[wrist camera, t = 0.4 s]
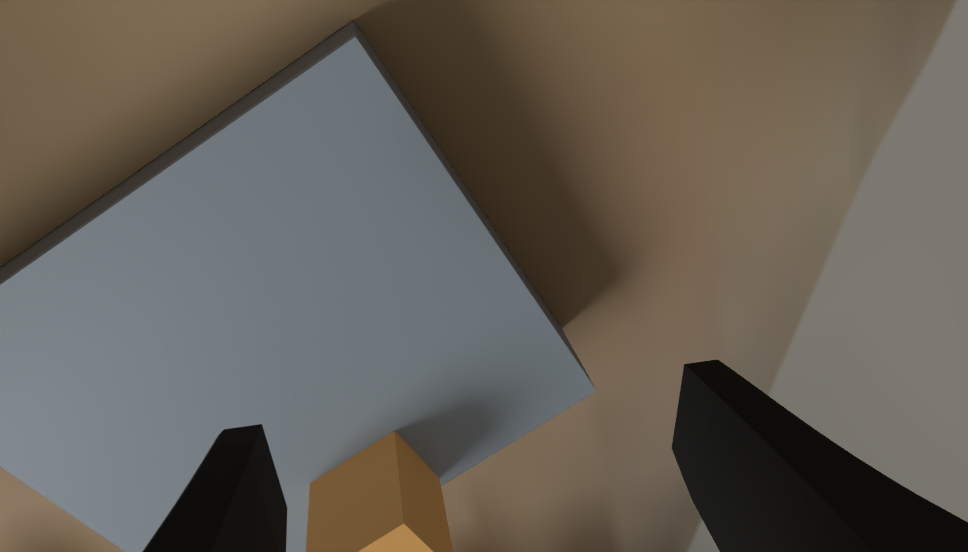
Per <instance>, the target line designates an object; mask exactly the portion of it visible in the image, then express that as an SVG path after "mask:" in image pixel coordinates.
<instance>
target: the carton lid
mask: <svg viewBox="0 0 968 552" xmlns="http://www.w3.org/2000/svg"><path fill="white" fill-rule="evenodd" d="M595 391H597V390H596V388H595V387H594V385H593V383H592V381H591V380H590V378H589V377H588V375H587V374H586V372H585V371H584V370H583V368H582V367H581V365H580V364H579V362H578V361H577V359H576V358H575V356H574V355H573V353H572V352H571V350H570V349H569V348H568V346H567V345H566V343H565V342H564V340H563V339H562V337H561V336H560V334H559V333H558V331H557V330H556V328H555V327H554V326H553V324H552V323H551V321H550V320H549V318H548V317H547V315H546V314H545V312H544V311H543V309H542V308H541V306H540V305H539V303H538V302H537V301H536V299H535V298H534V296H533V295H532V293H531V292H530V290H529V289H528V287H527V286H526V284H525V283H524V281H523V280H522V279H521V277H520V276H519V274H518V273H517V271H516V270H515V268H514V267H513V265H512V264H511V262H510V261H509V259H508V258H507V256H506V255H505V254H504V252H503V251H502V249H501V248H500V246H499V245H498V243H497V242H496V240H495V239H494V237H493V236H492V234H491V233H490V232H489V230H488V229H487V227H486V226H485V224H484V223H483V221H482V220H481V218H480V217H479V215H478V214H477V212H476V211H475V209H474V208H473V207H472V205H471V204H470V202H469V201H468V199H467V198H466V196H465V195H464V193H463V192H462V190H461V189H460V187H459V186H458V185H457V183H456V182H455V180H454V179H453V177H452V176H451V174H450V173H449V171H448V170H447V168H446V167H445V165H444V164H443V162H442V161H441V160H440V158H439V157H438V155H437V154H436V152H435V151H434V149H433V148H432V146H431V145H430V143H429V142H428V140H427V139H426V138H425V136H424V135H423V133H422V132H421V130H420V129H419V127H418V126H417V124H416V123H415V121H414V120H413V118H412V117H411V116H410V114H409V113H408V111H407V110H406V108H405V107H404V105H403V104H402V102H401V101H400V99H399V98H398V96H397V95H396V93H395V92H394V91H393V89H392V88H391V86H390V85H389V83H388V82H387V80H386V79H385V77H384V76H383V74H382V73H381V71H380V70H379V69H378V67H377V66H376V64H375V63H374V61H373V60H372V58H371V57H370V55H369V54H368V52H367V51H366V49H365V48H364V46H363V45H362V44H361V42H360V41H359V39H358V38H357V36H356V35H355V34H354V35H353V36H351V37H350V38H348V39H347V40H346V41H344V42H343V43H341V44H340V45H338V46H337V47H336V48H334V49H333V50H331V51H330V52H328V53H327V54H326V55H324V56H323V57H321V58H320V59H318V60H317V61H316V62H314V63H313V64H311V65H310V66H308V67H307V68H305V69H304V70H303V71H301V72H300V73H298V74H297V75H295V76H294V77H293V78H291V79H290V80H288V81H287V82H285V83H284V84H283V85H281V86H280V87H278V88H277V89H275V90H274V91H273V92H271V93H270V94H268V95H267V96H265V97H264V98H263V99H261V100H260V101H258V102H257V103H255V104H254V105H253V106H251V107H250V108H248V109H247V110H245V111H244V112H243V113H241V114H240V115H238V116H237V117H235V118H234V119H233V120H231V121H230V122H228V123H227V124H225V125H224V126H223V127H221V128H220V129H218V130H217V131H215V132H214V133H213V134H211V135H210V136H208V137H207V138H205V139H204V140H203V141H201V142H200V143H198V144H197V145H195V146H194V147H193V148H191V149H190V150H188V151H187V152H185V153H184V154H183V155H181V156H180V157H178V158H177V159H175V160H174V161H173V162H171V163H170V164H168V165H167V166H165V167H164V168H163V169H161V170H160V171H158V172H157V173H155V174H154V175H153V176H151V177H150V178H148V179H147V180H145V181H144V182H143V183H141V184H140V185H138V186H137V187H135V188H134V189H133V190H131V191H130V192H128V193H127V194H125V195H124V196H123V197H121V198H120V199H118V200H117V201H115V202H114V203H113V204H111V205H110V206H108V207H107V208H105V209H104V210H103V211H101V212H100V213H98V214H97V215H95V216H94V217H93V218H91V219H90V220H88V221H87V222H85V223H84V224H82V225H81V226H80V227H78V228H77V229H75V230H74V231H72V232H71V233H70V234H68V235H67V236H65V237H64V238H62V239H61V240H60V241H58V242H57V243H55V244H54V245H52V246H51V247H50V248H48V249H47V250H45V251H44V252H42V253H41V254H40V255H38V256H37V257H35V258H34V259H32V260H31V261H30V262H28V263H27V264H25V265H24V266H22V267H21V268H20V269H18V270H17V271H15V272H14V273H12V274H11V275H10V276H8V277H7V278H5V279H4V280H2V281H1V282H0V467H1V468H3V469H4V470H6V471H7V472H9V473H10V474H12V475H13V476H15V477H16V478H18V479H19V480H21V481H22V482H23V483H25V484H26V485H28V486H29V487H31V488H32V489H34V490H35V491H37V492H38V493H40V494H41V495H43V496H44V497H46V498H47V499H48V500H50V501H51V502H53V503H54V504H56V505H57V506H59V507H60V508H62V509H63V510H65V511H66V512H68V513H69V514H71V515H72V516H74V517H75V518H76V519H78V520H79V521H81V522H82V523H84V524H85V525H87V526H88V527H90V528H91V529H93V530H94V531H96V532H97V533H99V534H100V535H101V536H103V537H104V538H106V539H107V540H109V541H110V542H112V543H113V544H115V545H116V546H118V547H119V548H121V549H122V550H124V551H125V552H143V550H144V549H145V547H146V546H147V544H148V543H149V541H150V540H151V539H152V537H153V536H154V534H155V533H156V531H157V530H158V528H159V527H160V525H161V524H162V522H163V521H164V519H165V518H166V517H167V515H168V514H169V512H170V511H171V509H172V508H173V506H174V505H175V503H176V502H177V500H178V499H179V497H180V496H181V494H182V492H183V491H184V489H185V488H186V486H187V485H188V483H189V482H190V480H191V478H192V477H193V475H194V474H195V472H196V471H197V469H198V467H199V466H200V464H201V463H202V461H203V459H204V458H205V456H206V454H207V453H208V451H209V450H210V448H211V446H212V445H213V443H214V441H215V440H216V438H217V437H218V435H219V434H220V433H221V432H222V431H223V430H224V429H230V428H237V427H244V426H251V425H258V424H262V426H263V429H264V432H265V436H266V439H267V442H268V446H269V449H270V452H271V455H272V459H273V462H274V465H275V469H276V472H277V475H278V478H279V482H280V485H281V488H282V492H283V495H284V498H285V501H286V505H287V537H286V552H453V551H452V545H451V540H450V534H449V529H448V523H447V518H446V512H445V506H444V501H443V495H442V490H441V486H442V485H443V484H445V483H447V482H448V481H450V480H452V479H453V478H455V477H457V476H458V475H460V474H461V473H463V472H465V471H466V470H468V469H470V468H471V467H473V466H474V465H476V464H478V463H479V462H481V461H483V460H484V459H486V458H488V457H489V456H491V455H492V454H494V453H496V452H497V451H499V450H501V449H502V448H504V447H505V446H507V445H509V444H510V443H512V442H514V441H515V440H517V439H518V438H520V437H522V436H523V435H525V434H527V433H528V432H530V431H532V430H533V429H535V428H536V427H538V426H540V425H541V424H543V423H545V422H546V421H548V420H549V419H551V418H553V417H554V416H556V415H558V414H559V413H561V412H563V411H564V410H566V409H567V408H569V407H571V406H572V405H574V404H576V403H577V402H579V401H580V400H582V399H584V398H585V397H587V396H589V395H590V394H592V393H594V392H595Z"/></svg>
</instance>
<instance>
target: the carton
mask: <svg viewBox="0 0 968 552" xmlns="http://www.w3.org/2000/svg"><path fill="white" fill-rule="evenodd" d="M354 34H355V35H356V36H357V38H358V39H359V41H360V42H361V44H362V45H363V46H364V48H365V49H366V51H367V52H368V54H369V55H370V57H371V58H372V60H373V61H374V63H375V64H376V66H377V67H378V69H379V70H380V71H381V73H382V74H383V76H384V77H385V79H386V80H387V82H388V83H389V85H390V86H391V88H392V89H393V91H394V92H395V93H396V95H397V96H398V98H399V99H400V101H401V102H402V104H403V105H404V107H405V108H406V110H407V111H408V113H409V114H410V116H411V117H412V118H413V120H414V121H415V123H416V124H417V126H418V127H419V129H420V130H421V132H422V133H423V135H424V136H425V138H426V139H427V140H428V142H429V143H430V145H431V146H432V148H433V149H434V151H435V152H436V154H437V155H438V157H439V158H440V160H441V161H442V162H443V164H444V165H445V167H446V168H447V170H448V171H449V173H450V174H451V176H452V177H453V179H454V180H455V182H456V183H457V185H458V186H459V187H460V189H461V190H462V192H463V193H464V195H465V196H466V198H467V199H468V201H469V202H470V204H471V205H472V207H473V208H474V209H475V211H476V212H477V214H478V215H479V217H480V218H481V220H482V221H483V223H484V224H485V226H486V227H487V229H488V230H489V232H490V233H491V234H492V236H493V237H494V239H495V240H496V242H497V243H498V245H499V246H500V248H501V249H502V251H503V252H504V254H505V255H506V256H507V258H508V259H509V261H510V262H511V264H512V265H513V267H514V268H515V270H516V271H517V273H518V274H519V276H520V277H521V279H522V280H523V281H524V283H525V284H526V286H527V287H528V289H529V290H530V292H531V293H532V295H533V296H534V298H535V299H536V301H537V302H538V303H539V305H540V306H541V308H542V309H543V311H544V312H545V314H546V315H547V317H548V318H549V320H550V321H551V323H552V324H553V326H554V327H555V328H556V330H557V331H558V333H559V334H560V336H561V337H562V339H563V340H564V342H565V343H566V345H567V346H568V348H569V349H570V350H571V352H572V353H573V355H574V356H575V358H576V359H577V361H578V362H579V364H580V365H581V367H582V368H583V370H584V371H585V369H584V367H583V366H582V364H581V362H580V360H579V358H578V357H577V355H576V353H575V351H574V350H573V348H572V346H571V344H570V343H569V341H568V339H567V337H566V336H565V334H564V332H563V330H562V329H561V327H560V326H559V324H558V323H557V321H556V320H555V318H554V317H553V315H552V314H551V312H550V311H549V309H548V308H547V306H546V305H545V303H544V302H543V300H542V299H541V297H540V296H539V295H538V293H537V292H536V290H535V289H534V287H533V286H532V284H531V283H530V281H529V280H528V278H527V277H526V275H525V274H524V272H523V271H522V269H521V268H520V266H519V265H518V263H517V262H516V260H515V259H514V257H513V256H512V255H511V253H510V252H509V250H508V249H507V247H506V246H505V244H504V243H503V241H502V240H501V238H500V237H499V235H498V234H497V232H496V231H495V229H494V228H493V226H492V225H491V223H490V222H489V220H488V219H487V217H486V216H485V215H484V213H483V212H482V210H481V209H480V207H479V206H478V204H477V203H476V201H475V200H474V198H473V197H472V195H471V194H470V192H469V191H468V189H467V188H466V186H465V185H464V183H463V182H462V180H461V179H460V177H459V176H458V174H457V173H456V172H455V170H454V169H453V167H452V166H451V164H450V163H449V161H448V160H447V158H446V157H445V155H444V154H443V152H442V151H441V149H440V148H439V146H438V145H437V143H436V142H435V140H434V139H433V137H432V136H431V134H430V133H429V132H428V130H427V129H426V127H425V126H424V124H423V123H422V121H421V120H420V118H419V117H418V115H417V114H416V112H415V111H414V109H413V108H412V106H411V105H410V103H409V102H408V100H407V99H406V97H405V96H404V94H403V93H402V92H401V90H400V89H399V87H398V86H397V84H396V83H395V81H394V80H393V78H392V77H391V75H390V74H389V72H388V71H387V69H386V68H385V66H384V65H383V63H382V62H381V60H380V59H379V57H378V56H377V54H376V53H375V51H374V50H373V49H372V47H371V46H370V44H369V43H368V41H367V40H366V38H365V37H364V35H363V34H362V32H361V31H360V29H359V28H358V26H357V25H356V23H355V22H354V20H352V21H351V22H349V23H348V24H347V25H345V26H344V27H342V28H341V29H339V30H338V31H337V32H335V33H334V34H332V35H331V36H329V37H328V38H327V39H325V40H324V41H322V42H321V43H320V44H318V45H317V46H315V47H314V48H312V49H311V50H310V51H308V52H307V53H305V54H304V55H302V56H301V57H300V58H298V59H297V60H295V61H294V62H292V63H291V64H290V65H288V66H287V67H285V68H284V69H282V70H281V71H280V72H278V73H277V74H275V75H274V76H273V77H271V78H270V79H268V80H267V81H265V82H264V83H263V84H261V85H260V86H258V87H257V88H255V89H254V90H253V91H251V92H250V93H248V94H247V95H245V96H244V97H243V98H241V99H240V100H238V101H237V102H235V103H234V104H233V105H231V106H230V107H228V108H227V109H226V110H224V111H223V112H221V113H220V114H218V115H217V116H216V117H214V118H213V119H211V120H210V121H208V122H207V123H206V124H204V125H203V126H201V127H200V128H198V129H197V130H196V131H194V132H193V133H191V134H190V135H188V136H187V137H186V138H184V139H183V140H181V141H180V142H179V143H177V144H176V145H174V146H173V147H171V148H170V149H169V150H167V151H166V152H164V153H163V154H161V155H160V156H159V157H157V158H156V159H154V160H153V161H151V162H150V163H149V164H147V165H146V166H144V167H143V168H142V169H140V170H139V171H137V172H136V173H134V174H133V175H132V176H130V177H129V178H127V179H126V180H124V181H123V182H122V183H120V184H119V185H117V186H116V187H114V188H113V189H112V190H110V191H109V192H107V193H106V194H104V195H103V196H102V197H100V198H99V199H97V200H96V201H95V202H93V203H92V204H90V205H89V206H87V207H86V208H85V209H83V210H82V211H80V212H79V213H77V214H76V215H75V216H73V217H72V218H70V219H69V220H67V221H66V222H65V223H63V224H62V225H60V226H59V227H57V228H56V229H55V230H53V231H52V232H50V233H49V234H48V235H46V236H45V237H43V238H42V239H40V240H39V241H38V242H36V243H35V244H33V245H32V246H30V247H29V248H28V249H26V250H25V251H23V252H22V253H20V254H19V255H18V256H16V257H15V258H13V259H12V260H10V261H9V262H8V263H6V264H5V265H3V266H2V267H1V268H0V282H1V281H2V280H4V279H5V278H7V277H8V276H10V275H11V274H12V273H14V272H15V271H17V270H18V269H20V268H21V267H22V266H24V265H25V264H27V263H28V262H30V261H31V260H32V259H34V258H35V257H37V256H38V255H40V254H41V253H42V252H44V251H45V250H47V249H48V248H50V247H51V246H52V245H54V244H55V243H57V242H58V241H60V240H61V239H62V238H64V237H65V236H67V235H68V234H70V233H71V232H72V231H74V230H75V229H77V228H78V227H80V226H81V225H82V224H84V223H85V222H87V221H88V220H90V219H91V218H93V217H94V216H95V215H97V214H98V213H100V212H101V211H103V210H104V209H105V208H107V207H108V206H110V205H111V204H113V203H114V202H115V201H117V200H118V199H120V198H121V197H123V196H124V195H125V194H127V193H128V192H130V191H131V190H133V189H134V188H135V187H137V186H138V185H140V184H141V183H143V182H144V181H145V180H147V179H148V178H150V177H151V176H153V175H154V174H155V173H157V172H158V171H160V170H161V169H163V168H164V167H165V166H167V165H168V164H170V163H171V162H173V161H174V160H175V159H177V158H178V157H180V156H181V155H183V154H184V153H185V152H187V151H188V150H190V149H191V148H193V147H194V146H195V145H197V144H198V143H200V142H201V141H203V140H204V139H205V138H207V137H208V136H210V135H211V134H213V133H214V132H215V131H217V130H218V129H220V128H221V127H223V126H224V125H225V124H227V123H228V122H230V121H231V120H233V119H234V118H235V117H237V116H238V115H240V114H241V113H243V112H244V111H245V110H247V109H248V108H250V107H251V106H253V105H254V104H255V103H257V102H258V101H260V100H261V99H263V98H264V97H265V96H267V95H268V94H270V93H271V92H273V91H274V90H275V89H277V88H278V87H280V86H281V85H283V84H284V83H285V82H287V81H288V80H290V79H291V78H293V77H294V76H295V75H297V74H298V73H300V72H301V71H303V70H304V69H305V68H307V67H308V66H310V65H311V64H313V63H314V62H316V61H317V60H318V59H320V58H321V57H323V56H324V55H326V54H327V53H328V52H330V51H331V50H333V49H334V48H336V47H337V46H338V45H340V44H341V43H343V42H344V41H346V40H347V39H348V38H350V37H351V36H353V35H354ZM585 372H586V371H585ZM586 374H587V373H586ZM587 375H588V374H587ZM588 377H589V376H588Z"/></svg>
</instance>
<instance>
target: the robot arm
mask: <svg viewBox="0 0 968 552" xmlns="http://www.w3.org/2000/svg"><path fill="white" fill-rule="evenodd" d="M672 450H673V452H674V455H675V458H676V460H677V463H678V466H679V468H680V471H681V473H682V476H683V479H684V481H685V483H686V486H687V488H688V491H689V493H690V496H691V498H692V500H693V502H694V504H695V506H696V508H697V510H698V512H699V514H700V516H701V517H702V519H703V521H704V523H705V525H706V527H707V529H708V530H709V532H710V534H711V536H712V538H713V540H714V541H715V543H716V545H717V547H718V549H719V551H720V552H968V522H966V521H964V520H962V519H960V518H959V517H957V516H955V515H953V514H951V513H950V512H948V511H946V510H944V509H942V508H941V507H939V506H937V505H935V504H933V503H931V502H929V501H928V500H926V499H924V498H922V497H921V496H919V495H917V494H915V493H914V492H912V491H910V490H909V489H907V488H905V487H903V486H902V485H900V484H898V483H896V482H895V481H893V480H892V479H890V478H888V477H887V476H885V475H884V474H882V473H881V472H879V471H877V470H876V469H874V468H873V467H871V466H869V465H868V464H866V463H865V462H863V461H862V460H860V459H858V458H857V457H855V456H853V455H852V454H850V453H849V452H848V451H846V450H844V449H843V448H841V447H840V446H838V445H837V444H835V443H834V442H832V441H831V440H830V439H828V438H827V437H825V436H824V435H822V434H821V433H819V432H818V431H816V430H815V429H814V428H812V427H811V426H809V425H808V424H806V423H805V422H804V421H802V420H801V419H799V418H798V417H797V416H795V415H794V414H792V413H791V412H790V411H788V410H787V409H785V408H784V407H783V406H781V405H780V404H778V403H777V402H776V401H774V400H773V399H772V398H770V397H769V396H768V395H766V394H765V393H763V392H762V391H761V390H759V389H758V388H757V387H755V386H754V385H752V384H751V383H750V382H748V381H747V380H746V379H744V378H743V377H742V376H740V375H739V374H737V373H736V372H735V371H733V370H732V369H730V368H729V367H728V366H726V365H725V364H723V363H722V362H720V361H719V360H711V361H704V362H697V363H690V364H684V370H683V377H682V383H681V390H680V397H679V403H678V410H677V417H676V423H675V430H674V437H673V443H672ZM286 537H287V505H286V501H285V498H284V495H283V492H282V488H281V485H280V482H279V478H278V475H277V472H276V469H275V465H274V462H273V459H272V455H271V452H270V449H269V446H268V442H267V439H266V436H265V432H264V429H263V426H262V424H258V425H251V426H244V427H237V428H230V429H224V430H223V431H222V432H221V433H220V434H219V435H218V437H217V438H216V440H215V441H214V443H213V445H212V446H211V448H210V450H209V451H208V453H207V454H206V456H205V458H204V459H203V461H202V463H201V464H200V466H199V467H198V469H197V471H196V472H195V474H194V475H193V477H192V478H191V480H190V482H189V483H188V485H187V486H186V488H185V489H184V491H183V492H182V494H181V496H180V497H179V499H178V500H177V502H176V503H175V505H174V506H173V508H172V509H171V511H170V512H169V514H168V515H167V517H166V518H165V519H164V521H163V522H162V524H161V525H160V527H159V528H158V530H157V531H156V533H155V534H154V536H153V537H152V539H151V540H150V541H149V543H148V544H147V546H146V547H145V549H144V550H143V552H286Z"/></svg>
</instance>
